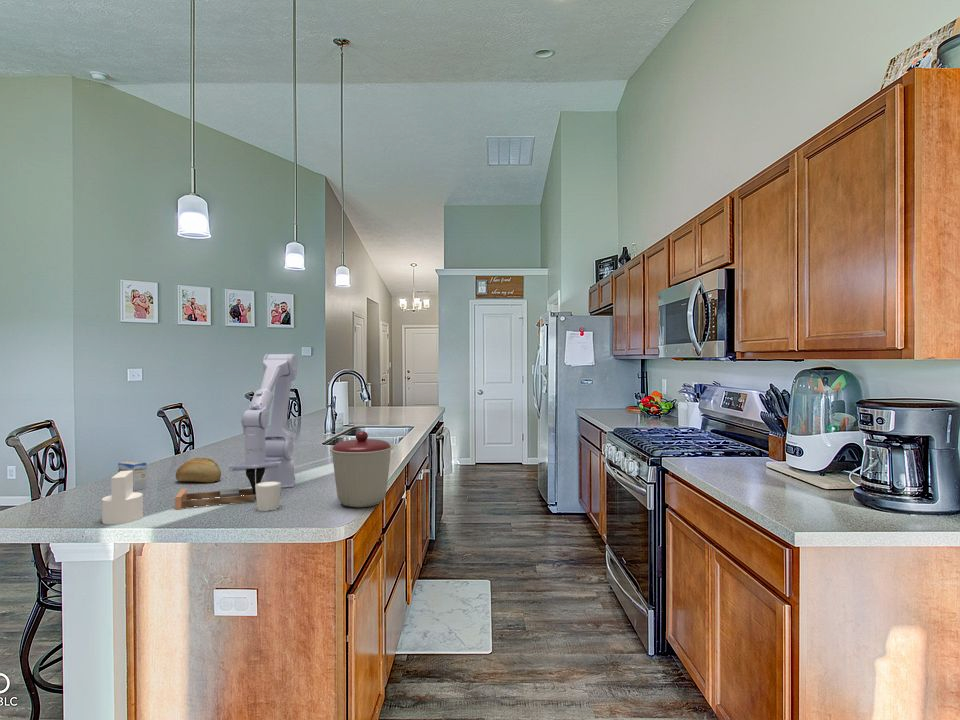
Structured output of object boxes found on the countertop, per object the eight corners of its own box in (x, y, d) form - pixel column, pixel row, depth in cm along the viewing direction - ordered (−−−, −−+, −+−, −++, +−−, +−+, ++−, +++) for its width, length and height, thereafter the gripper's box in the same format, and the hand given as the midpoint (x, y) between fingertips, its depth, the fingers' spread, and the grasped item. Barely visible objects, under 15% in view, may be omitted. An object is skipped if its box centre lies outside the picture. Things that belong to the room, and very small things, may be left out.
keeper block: (238, 498, 165) (238, 488, 165) (238, 502, 160) (238, 492, 160) (220, 499, 163) (220, 490, 163) (220, 504, 157) (219, 494, 157)
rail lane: (255, 493, 169) (255, 482, 169) (254, 502, 159) (254, 490, 159) (181, 500, 161) (181, 488, 161) (175, 509, 152) (175, 497, 152)
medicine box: (117, 489, 175) (117, 462, 175) (130, 486, 179) (130, 460, 179) (133, 491, 172) (133, 464, 172) (147, 488, 176) (147, 462, 176)
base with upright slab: (107, 516, 146) (107, 472, 146) (146, 512, 149) (145, 469, 149) (97, 526, 137) (97, 479, 137) (138, 522, 141) (138, 476, 140)
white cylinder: (256, 513, 148) (256, 487, 148) (254, 506, 154) (253, 482, 154) (282, 509, 151) (282, 484, 151) (279, 503, 158) (279, 479, 157)
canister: (380, 513, 147) (379, 436, 147) (318, 510, 151) (318, 435, 151) (401, 496, 165) (401, 427, 165) (346, 493, 168) (345, 426, 168)
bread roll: (184, 478, 191) (184, 456, 191) (227, 478, 191) (227, 455, 191) (169, 485, 181) (169, 461, 181) (214, 484, 181) (214, 461, 181)
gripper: (227, 452, 157) (228, 499, 157) (280, 449, 162) (281, 494, 163) (229, 448, 164) (230, 493, 164) (280, 445, 169) (281, 488, 169)
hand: (255, 493), depth 164 cm, fingers closed
